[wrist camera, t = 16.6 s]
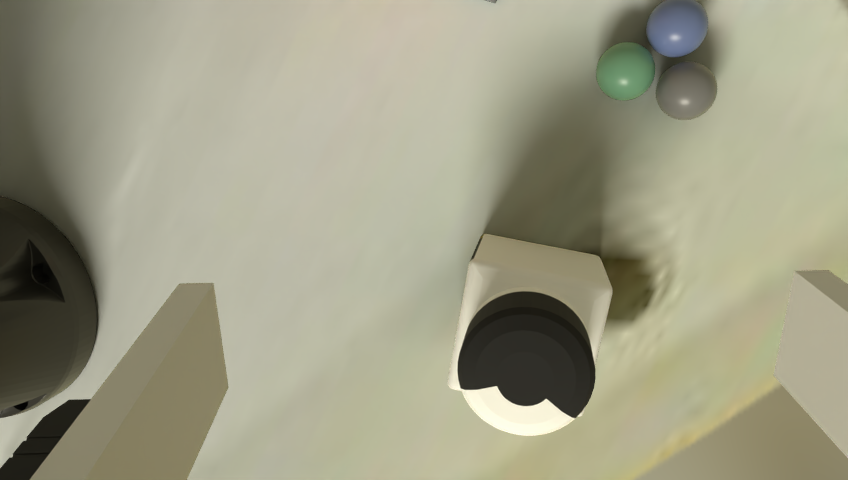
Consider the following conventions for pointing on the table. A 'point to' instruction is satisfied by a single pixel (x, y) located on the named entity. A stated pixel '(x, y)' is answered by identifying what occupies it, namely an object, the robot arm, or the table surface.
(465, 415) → the table surface
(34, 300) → the robot arm
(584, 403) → the medicine bottle
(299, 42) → the table surface
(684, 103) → the charcoal marble
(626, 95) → the bottle-green marble
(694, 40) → the navy marble
